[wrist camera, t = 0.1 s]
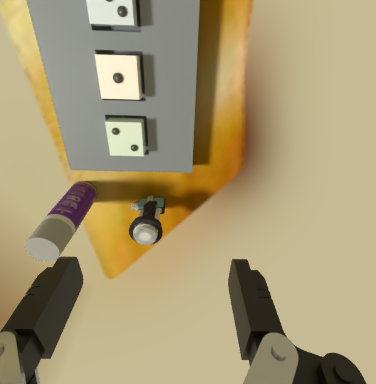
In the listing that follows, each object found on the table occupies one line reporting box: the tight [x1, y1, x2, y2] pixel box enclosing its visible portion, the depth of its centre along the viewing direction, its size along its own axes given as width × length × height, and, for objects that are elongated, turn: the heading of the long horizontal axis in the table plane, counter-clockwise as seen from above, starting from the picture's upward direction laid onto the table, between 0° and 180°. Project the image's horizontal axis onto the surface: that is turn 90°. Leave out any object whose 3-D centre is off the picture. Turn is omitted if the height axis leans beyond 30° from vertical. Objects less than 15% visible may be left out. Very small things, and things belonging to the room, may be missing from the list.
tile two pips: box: [105, 118, 146, 156], centre depth 34 cm, size 5×5×3 cm
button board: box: [27, 0, 200, 173], centre depth 32 cm, size 28×20×3 cm
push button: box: [129, 195, 165, 245], centre depth 40 cm, size 7×5×10 cm
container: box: [25, 181, 97, 262], centre depth 37 cm, size 5×5×15 cm
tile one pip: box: [95, 54, 142, 100], centre depth 30 cm, size 5×5×3 cm
